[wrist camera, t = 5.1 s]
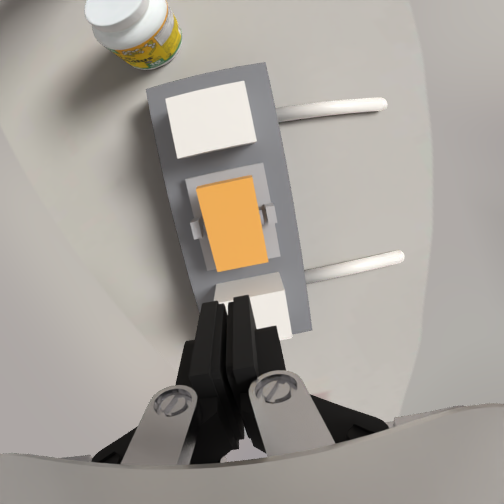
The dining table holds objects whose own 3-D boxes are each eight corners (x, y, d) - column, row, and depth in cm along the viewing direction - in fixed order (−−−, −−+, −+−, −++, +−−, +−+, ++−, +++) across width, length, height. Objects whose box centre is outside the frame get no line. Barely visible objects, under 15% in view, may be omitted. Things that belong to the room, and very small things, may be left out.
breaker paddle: (195, 185, 21) (192, 189, 20) (254, 172, 21) (255, 176, 19) (215, 264, 23) (214, 272, 22) (269, 253, 23) (271, 261, 22)
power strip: (155, 95, 23) (130, 79, 17) (374, 62, 23) (408, 43, 17) (213, 331, 30) (207, 373, 24) (401, 290, 29) (432, 321, 23)
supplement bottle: (193, 24, 21) (172, -30, 12) (168, 77, 23) (132, 42, 14) (138, 14, 21) (99, -35, 12) (114, 64, 22) (61, 32, 13)
